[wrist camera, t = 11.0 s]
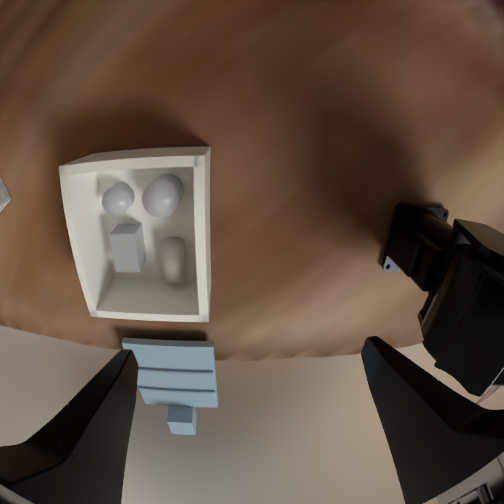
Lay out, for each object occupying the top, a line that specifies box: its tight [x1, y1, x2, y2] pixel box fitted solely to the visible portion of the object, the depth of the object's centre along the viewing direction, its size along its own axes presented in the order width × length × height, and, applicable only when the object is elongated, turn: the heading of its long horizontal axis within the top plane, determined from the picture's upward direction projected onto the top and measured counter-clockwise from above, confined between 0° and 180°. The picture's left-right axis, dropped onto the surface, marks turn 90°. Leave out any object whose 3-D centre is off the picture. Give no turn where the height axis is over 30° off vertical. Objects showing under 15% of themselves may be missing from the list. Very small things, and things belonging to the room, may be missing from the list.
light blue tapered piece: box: [122, 337, 218, 435], centre depth 27 cm, size 14×9×4 cm, turn 177°
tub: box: [59, 146, 211, 322], centre depth 18 cm, size 11×9×5 cm
